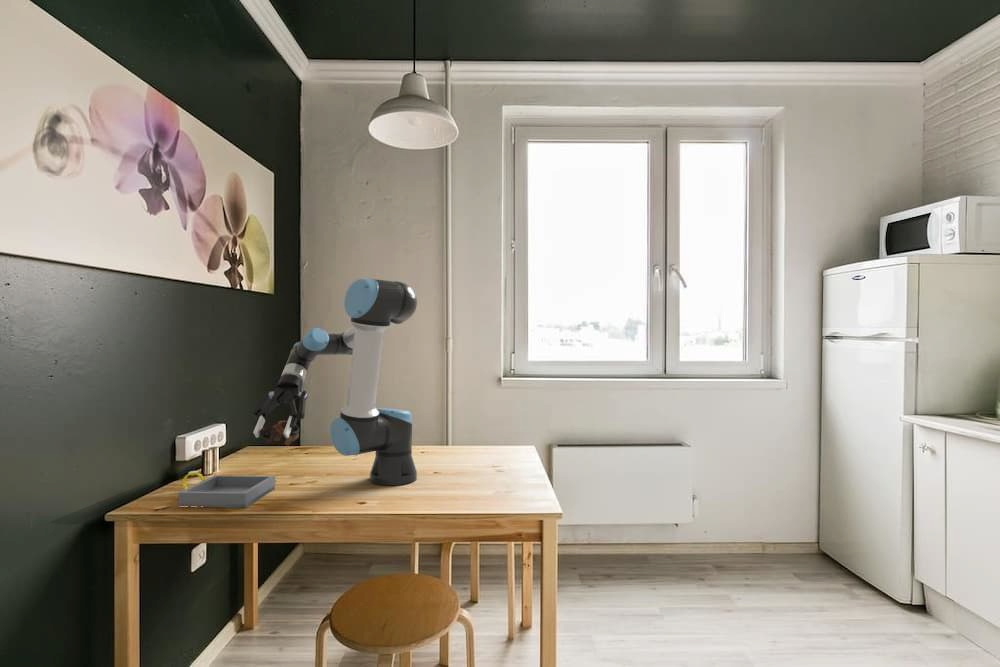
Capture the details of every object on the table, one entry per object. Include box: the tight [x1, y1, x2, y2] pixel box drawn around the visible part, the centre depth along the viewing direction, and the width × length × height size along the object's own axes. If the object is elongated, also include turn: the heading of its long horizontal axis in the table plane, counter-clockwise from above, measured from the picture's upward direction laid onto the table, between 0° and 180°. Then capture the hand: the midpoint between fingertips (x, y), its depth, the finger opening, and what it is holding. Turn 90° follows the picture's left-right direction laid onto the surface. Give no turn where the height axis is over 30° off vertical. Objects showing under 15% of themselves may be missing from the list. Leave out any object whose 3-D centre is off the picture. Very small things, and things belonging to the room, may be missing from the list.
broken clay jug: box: [259, 420, 300, 446], centre depth 174 cm, size 12×10×8 cm
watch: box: [182, 470, 206, 490], centre depth 162 cm, size 6×3×6 cm, turn 93°
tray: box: [177, 474, 276, 509], centre depth 156 cm, size 18×18×4 cm
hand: (270, 435), depth 169 cm, fingers closed on broken clay jug, 9 cm apart
